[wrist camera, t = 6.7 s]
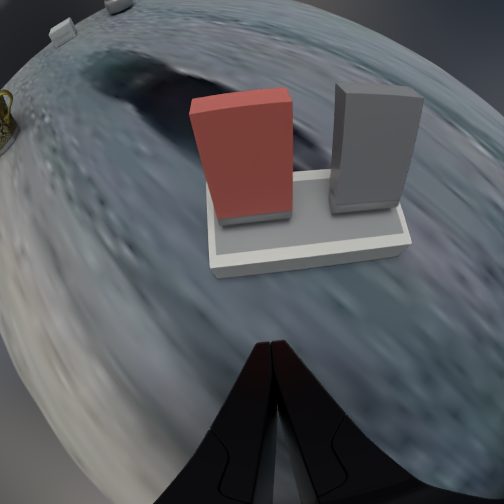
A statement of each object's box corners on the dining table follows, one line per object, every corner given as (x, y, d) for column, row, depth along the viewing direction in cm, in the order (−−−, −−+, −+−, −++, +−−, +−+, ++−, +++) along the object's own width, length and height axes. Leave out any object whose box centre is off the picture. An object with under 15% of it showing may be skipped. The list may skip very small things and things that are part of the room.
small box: (76, 30, 46) (70, 16, 41) (76, 36, 44) (69, 22, 39) (57, 42, 45) (50, 28, 41) (56, 49, 43) (48, 35, 39)
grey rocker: (396, 212, 20) (424, 98, 13) (334, 218, 20) (346, 93, 13) (387, 197, 21) (409, 86, 14) (327, 201, 21) (335, 82, 14)
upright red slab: (292, 222, 20) (292, 101, 13) (220, 231, 21) (189, 114, 13) (288, 204, 22) (285, 87, 14) (220, 212, 22) (192, 99, 14)
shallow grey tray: (397, 256, 23) (412, 243, 20) (217, 278, 23) (209, 268, 20) (377, 184, 25) (387, 165, 22) (213, 200, 26) (205, 182, 23)
